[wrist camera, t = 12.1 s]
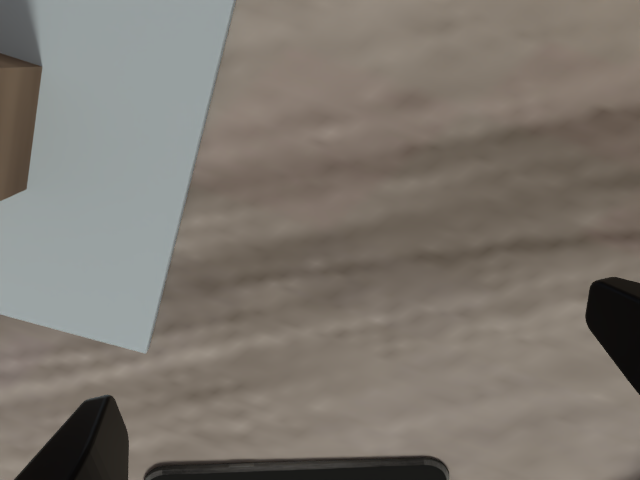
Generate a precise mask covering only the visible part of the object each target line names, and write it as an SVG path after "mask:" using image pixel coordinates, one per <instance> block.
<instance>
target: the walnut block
mask: <svg viewBox="0 0 640 480" xmlns="http://www.w3.org/2000/svg"><path fill="white" fill-rule="evenodd" d="M41 74H42V66H39V65H35V64H32V63H29V62H26V61H23V60H20V59H17V58H14V57H11V56H8V55H5V54H2V53H0V201H2V200H4V199H6V198H9V197H11V196H13V195H15V194H17V193H20V192H22V191H24V190H26V189H27V182H28V174H29V166H30V159H31V151H32V143H33V136H34V128H35V120H36V113H37V105H38V97H39V90H40V82H41Z"/></svg>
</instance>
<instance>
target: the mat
mask: <svg viewBox="0 0 640 480" xmlns="http://www.w3.org/2000/svg"><path fill="white" fill-rule="evenodd" d="M235 3H236V0H0V53H2V54H5V55H8V56H11V57H14V58H17V59H20V60H23V61H26V62H29V63H32V64H35V65H39V66H42V74H41V82H40V90H39V97H38V105H37V113H36V120H35V128H34V136H33V143H32V151H31V159H30V166H29V174H28V182H27V189H26V190H24V191H22V192H20V193H17V194H15V195H13V196H11V197H9V198H6V199H4V200H2V201H0V314H1V315H5V316H8V317H12V318H16V319H19V320H23V321H27V322H31V323H34V324H38V325H42V326H45V327H49V328H53V329H56V330H60V331H64V332H68V333H71V334H75V335H79V336H82V337H86V338H90V339H93V340H97V341H101V342H105V343H108V344H112V345H116V346H119V347H123V348H127V349H130V350H134V351H138V352H142V353H145V354H146V353H147V351H148V349H149V346H150V342H151V338H152V334H153V330H154V326H155V322H156V318H157V314H158V310H159V306H160V302H161V298H162V294H163V290H164V286H165V282H166V278H167V274H168V270H169V266H170V262H171V258H172V254H173V250H174V246H175V242H176V238H177V234H178V230H179V226H180V222H181V218H182V214H183V210H184V206H185V202H186V198H187V194H188V190H189V186H190V182H191V178H192V174H193V170H194V166H195V162H196V158H197V154H198V150H199V146H200V142H201V138H202V134H203V130H204V126H205V122H206V118H207V114H208V110H209V106H210V102H211V98H212V94H213V90H214V86H215V82H216V78H217V74H218V70H219V66H220V62H221V58H222V54H223V50H224V46H225V42H226V38H227V34H228V30H229V26H230V22H231V18H232V14H233V11H234V7H235Z"/></svg>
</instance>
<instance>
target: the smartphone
mask: <svg viewBox="0 0 640 480" xmlns="http://www.w3.org/2000/svg"><path fill="white" fill-rule="evenodd" d="M145 480H449V474H448V471H447V469H446V467H445V466H444V465H443V464H442V463H441V462H439V461H437V460H435V459H432V458H396V459H364V460H332V461H300V462H267V463H235V464H203V465H171V466H161V467H157V468H155V469H153V470H152V471H150V472H149V473H148V474H147V476H146V478H145Z"/></svg>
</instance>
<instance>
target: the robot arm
mask: <svg viewBox="0 0 640 480" xmlns="http://www.w3.org/2000/svg"><path fill="white" fill-rule="evenodd" d="M585 318H586V323H587V325H588V327H589V329H590V330H591V332H592V333H593V334H594V336H595V337H596V338H597V340H598V341H599V342H600V344H601V345H602V346H603V348H604V349H605V350H606V352H607V353H608V354H609V356H610V357H611V358H612V360H613V361H614V362H615V364H616V365H617V366H618V368H619V369H620V370H621V372H622V373H623V374H624V376H625V377H626V378H627V380H628V381H629V382H630V383H631V385H632V386H633V387H634V389H635V390H636V391H637V392H638V393H639V395H640V283H637V282H633V281H629V280H625V279H621V278H617V277H609V278H605V279H601V280H597V281H595V282H593V283H592V285H591V286H590V290H589V296H588V302H587V308H586V315H585ZM128 455H129V440H128V433H127V429H126V426H125V424H124V421H123V419H122V416H121V414H120V411H119V409H118V406H117V404H116V401H115V399H114V398H113V397H112V396H110V395H104V396H100V397H95V398H91V399H88V400H86V401H84V402H83V403H82V404H81V405H80V406H79V407H78V409H77V410H76V411H75V412H74V413H73V414H72V415H71V416H70V418H69V419H68V420H67V421H66V422H65V423H64V424H63V425H62V426H61V428H60V429H59V430H58V431H57V432H56V433H55V434H54V435H53V437H52V438H51V439H50V440H49V441H48V442H47V443H46V444H45V446H44V447H43V448H42V449H41V450H40V451H39V452H38V453H37V455H36V456H35V457H34V458H33V459H32V460H31V461H30V462H29V463H28V465H27V466H26V467H25V468H24V469H23V470H22V471H21V472H20V474H19V475H18V476H17V477H16V478H15V479H14V480H128Z"/></svg>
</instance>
